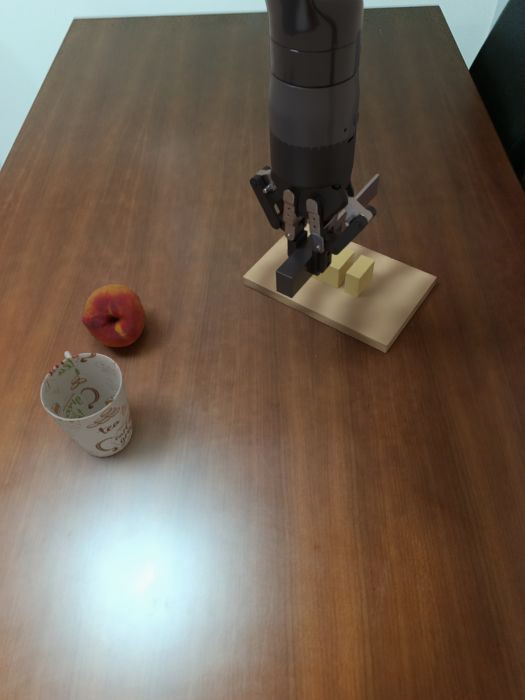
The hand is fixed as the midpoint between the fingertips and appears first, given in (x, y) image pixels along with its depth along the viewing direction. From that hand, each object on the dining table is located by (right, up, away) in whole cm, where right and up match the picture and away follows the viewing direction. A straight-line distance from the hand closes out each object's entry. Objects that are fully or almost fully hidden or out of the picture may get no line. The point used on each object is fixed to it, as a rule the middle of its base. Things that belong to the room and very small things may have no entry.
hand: (309, 265), depth 63 cm
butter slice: (+8, -1, +14) cm, 16 cm away
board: (+5, 0, +16) cm, 17 cm away
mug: (-24, -18, +5) cm, 30 cm away
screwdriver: (+3, +3, +3) cm, 5 cm away
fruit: (-23, -7, +13) cm, 28 cm away
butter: (+4, +2, +16) cm, 17 cm away
